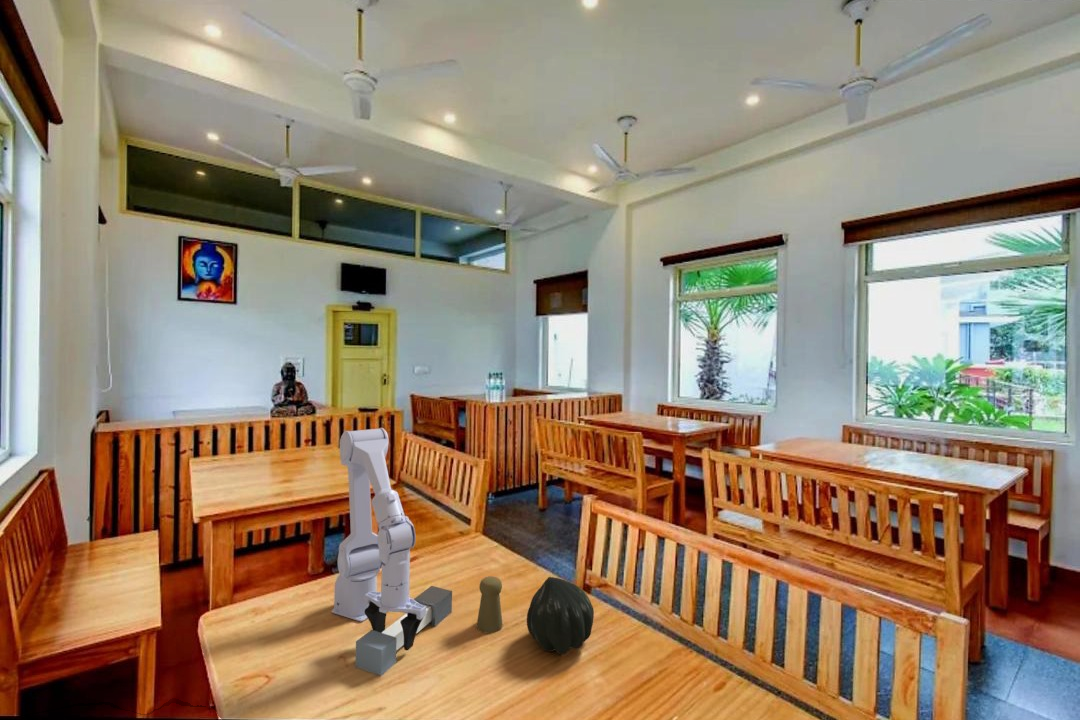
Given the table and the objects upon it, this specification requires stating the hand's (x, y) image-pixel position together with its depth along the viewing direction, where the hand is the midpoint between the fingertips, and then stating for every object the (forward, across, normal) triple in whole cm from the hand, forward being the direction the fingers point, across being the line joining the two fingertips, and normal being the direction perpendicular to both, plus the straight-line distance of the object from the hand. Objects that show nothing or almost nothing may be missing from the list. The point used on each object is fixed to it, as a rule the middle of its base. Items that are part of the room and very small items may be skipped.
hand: (394, 642), depth 105 cm
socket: (+1, 0, -6) cm, 6 cm away
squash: (+2, +31, +18) cm, 36 cm away
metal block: (+1, 0, +14) cm, 14 cm away
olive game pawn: (+2, +14, +17) cm, 22 cm away
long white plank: (+1, 0, +3) cm, 3 cm away
